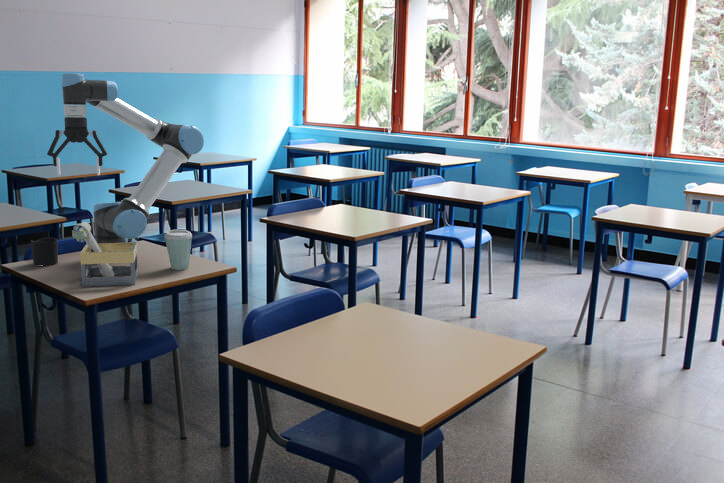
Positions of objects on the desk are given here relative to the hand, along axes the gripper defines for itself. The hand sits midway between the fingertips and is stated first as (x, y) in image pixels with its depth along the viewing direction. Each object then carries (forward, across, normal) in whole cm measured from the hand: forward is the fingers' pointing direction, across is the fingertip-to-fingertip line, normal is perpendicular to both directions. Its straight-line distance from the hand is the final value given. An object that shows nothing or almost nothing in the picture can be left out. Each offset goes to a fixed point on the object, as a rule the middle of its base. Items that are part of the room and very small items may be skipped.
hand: (79, 175), depth 247 cm
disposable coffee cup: (+37, +35, -2) cm, 51 cm away
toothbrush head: (+36, +10, -16) cm, 41 cm away
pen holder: (+37, -16, +15) cm, 43 cm away
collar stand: (+37, +11, -15) cm, 41 cm away
